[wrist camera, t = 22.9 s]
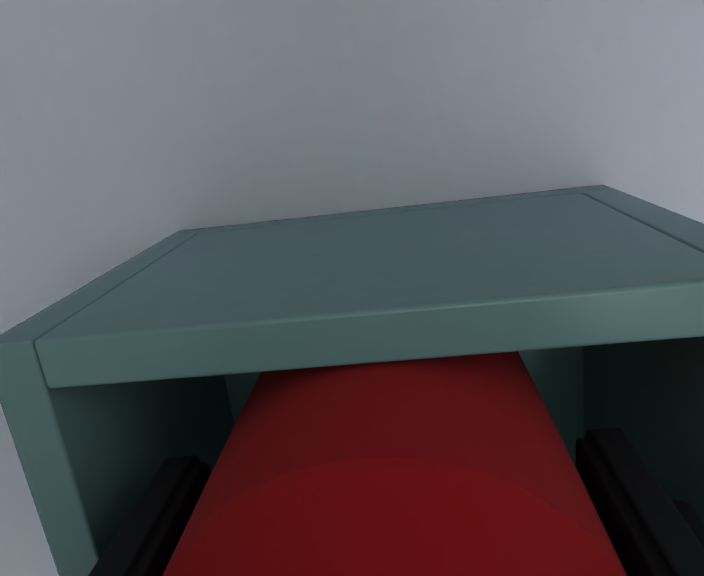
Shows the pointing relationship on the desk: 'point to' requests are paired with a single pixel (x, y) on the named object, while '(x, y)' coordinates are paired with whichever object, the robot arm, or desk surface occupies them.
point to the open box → (358, 336)
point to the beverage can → (396, 478)
